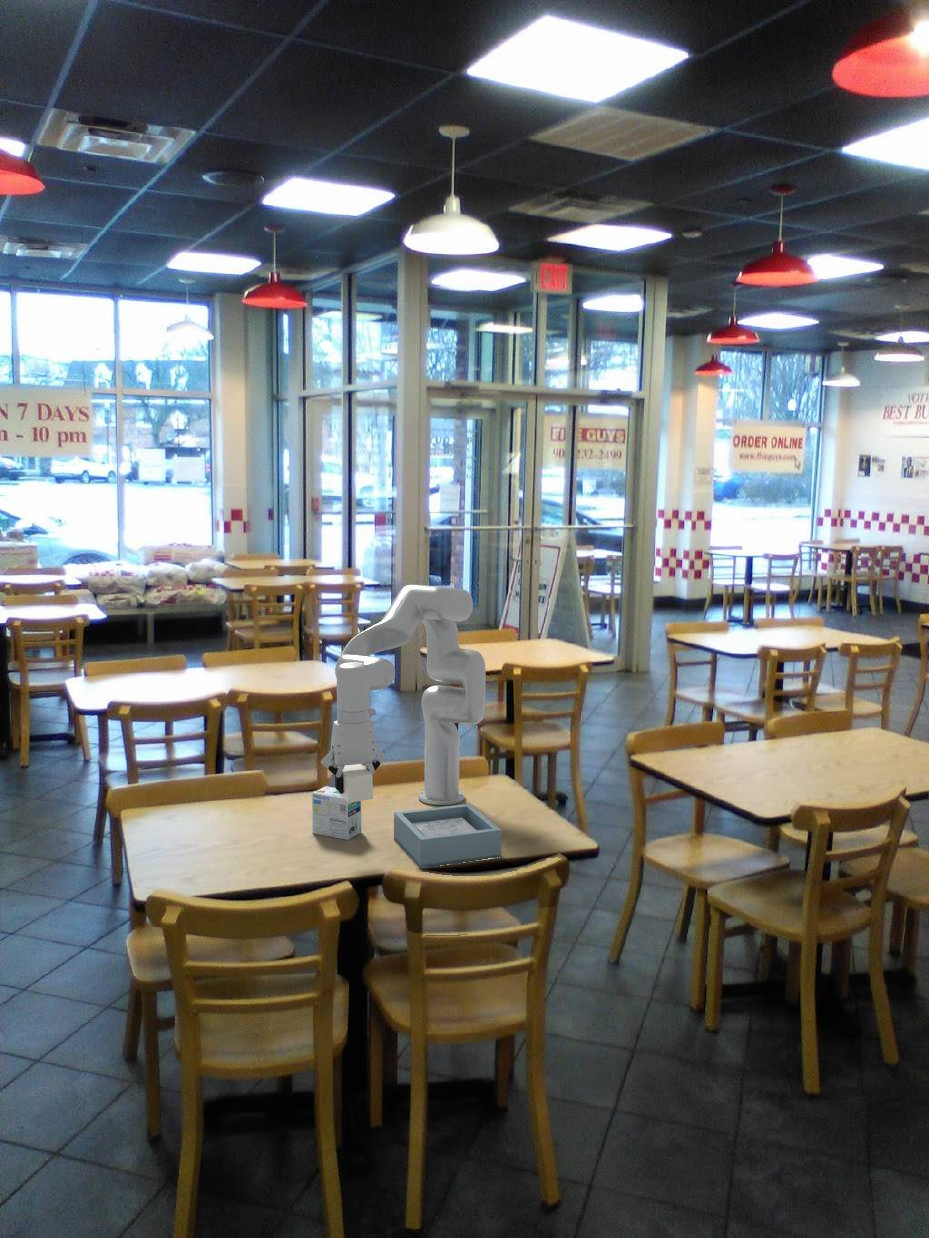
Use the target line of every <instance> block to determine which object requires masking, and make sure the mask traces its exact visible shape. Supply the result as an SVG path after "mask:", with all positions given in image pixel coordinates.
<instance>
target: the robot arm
mask: <svg viewBox="0 0 929 1238" xmlns="http://www.w3.org/2000/svg"><path fill="white" fill-rule="evenodd" d="M473 608H474V601H473V597H472V595H471V594H470V593H469V591H468V590H467V589H464V588H453V587H446V586H440V585H439V586H437V585H422V584H409V585H408V584H407V585H405V586H403V587H402V588H401V589H400V590H399V592H398V593H397V595H396V596H395V598H394V600H393V601H392V603H391V604H390V606H389V608H388V609H387V611H386V612H385V614H384V616H383V617H382V618H381V621H379V622H378V623H376V624H373V625H372V626H370V627H368V628H366V629H365V630H363V631H361V632H359V633H358V634H356V635H355V636H353V637H352V638H351V639H350V640H349V641H348V642H347V644H346V645H345V647H344V648H343V650H342V652H341V653H340V655H339V657H338V659H337V661H336V664H335V669H334V672H335V673H334V674H335V677H336V678H335V679H336V716H337V717H336V720H334V721H333V725H332V730H331V739H330V750H329V751H328V753H327V754H326V755H325V756H324V757H323V758H322V759H321V761H320V763H321V764H322V766H323V767H325V768H326V769H327V770H328V771H329V772H330V773H332V774H333V775H334V788H336V790H338V792H339V793H340V794H343V793H344V790H343V777H342V772H343V769H344V767H345V766H346V765H355V764H361V765H363V764H364V767H365V768H366V769H367V770H368V771H369V772H371V773H372V774H373V775H375V773H376V771H377V769H378V768H379V767H380V765H381V764H382V763H383V762H384V761H385V760H386V758H387V755H386V753H384V752H383V751H382V750H381V749H380V748H379V747H377V742H376V741H377V740H376V733H375V728H374V727H375V726H374V724H373V720H372V719H371V718H372V716H375V715H376V714H377V713H376V708H374V709H373V708H371V707H370V705H371V704H370V694H371V693H370V692H371V691H372V692H373V691H381V690H385V689H386V688H388V687H389V686H391V685H392V683H393V682H394V680H395V678H396V668H395V666H394V664H393V662H392V661H390V660H389V659H386V658H385V657H377V656H373V655H374V654H376V653H380V652H384V651H387V650H392V649H396V648H399V647H402V646H404V645H406V644H408V643H409V641H410V640H411V639H412V637H413V636H414V634H415V632H416V630H417V628H418V627H419V625H420V623H421V622H422V624H423V625H424V628H425V633H426V669H427V671H426V672H427V674H428V676H429V678H430V679H431V680H433V681H436V682H442V683H451V684H456V685H457V684H459V685H462V687H458V686H449V685H441V684H440V685H439V684H438V685H432V686H429V687H428V688H426V689H425V690H424V692H423V693H422V696H421V710H422V715H423V722H424V784H423V787H424V789H423V790H421V791H420V792H419V793H418V799H419V801H421V802H422V803H425V804H428V805H433V806H452V805H455V804H456V805H457V804H459V803H461V802H463V801H464V799H465V793H464V792H463V791H461V790H459V789H460V744H461V743H460V741H461V740H460V739H461V738H460V734H459V731H458V727H457V726H456V724H461V725H471V726H472V725H477V724H479V723H481V721H482V720H483V719H484V716H485V711H486V699H487V698H486V694H487V693H486V692H487V691H486V689H487V688H486V682H487V681H486V679H487V677H486V676H487V675H486V669H487V668H486V663H485V658H484V656H483V655H482V654H481V652H480V651H477V650H475V649H471V648H469V649H468V648H461V647H460V645H459V629H458V626H457V622H458V623H461V622H464V621H466V620H468V619H469V618H470V616H471V615H472V612H473ZM455 723H456V724H455ZM331 761H333V762H334V764H335V766H334V765H332V764H331V763H330V762H331Z"/></svg>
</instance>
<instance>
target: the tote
mask: <svg viewBox="0 0 929 1238" xmlns="http://www.w3.org/2000/svg"><path fill="white" fill-rule="evenodd" d="M461 817H462V818H463V819H464V820H466V821H467V822H468V823H469V824H470V825H471V826H472V827H474V828H475V829H476V830H477V831H469V832H461V833H452V834H444V835H436V836H428V837H425V836H424V835H423V834H422V833H421V832H420V831H419V830H418V829H417V828H416V827H415V826H414V825H413V824H412V823H418V822H426V821H435V820H443V819H452V818H461ZM393 840H394V841H395V843H396V844H397V845H398V846H399V847H400V848H401V850H402V851H403V852H405V854H406V855H407V856H408V857H409V858H410V859H411V860H412V861H413V862H414V863H415V865H416V866H417V867H418V869H420V870H424V869H423V868H425V869H431V867H432V868H437V867H436V866H440V865H447V864H449V865H447V866H451V865H450V864H455V865H459V864H458V863H463V862H469V861H476V860H482V859H488V858H497V857H498V858H499V857H501V858H502V829H501V828H500V827H499V826H497V825H496V824H495V823H494V822H493V821H491V820H490V819H489V818H488V817H487V816H486V815H484V814H483V813H482V812H480V811H479V810H478V809H477V808H475V807H474V806H473V805H472V804H471V803H466V804H456V805H455V804H454V805H445V806H440V807H431V808H429V807H428V808H421V809H410V810H403V811H402V810H401V811H394V812H393ZM463 864H464V863H463ZM440 867H441V866H440Z"/></svg>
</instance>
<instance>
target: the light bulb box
mask: <svg viewBox="0 0 929 1238" xmlns="http://www.w3.org/2000/svg"><path fill="white" fill-rule="evenodd" d="M311 798H312V799H311V800H312V807H311V809H312V810H311V811H312V834H313V835H314V834H316V835H320V836H325V837H330V838H335V839H340V840H347V841H349V840H350V839H352V838H354V837H356V836H358V835H359V834H361V833H362V801H356V802H349V803H348V802H347V801H346V800H345V799H344V798H343V797H342V796H341V795H340V794H339V793H338V792H337V791H336V788H335V787H331V786H328V785H325V786H323V787H321V788H320V789H317V790H316V791H315V790H314V791H313V792H312V793H311Z"/></svg>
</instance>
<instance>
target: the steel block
mask: <svg viewBox="0 0 929 1238" xmlns="http://www.w3.org/2000/svg"><path fill="white" fill-rule="evenodd" d="M412 824H413V825H414V826H415V827H416V828H417V829H418V830H419V831H420V832H421V833H422V834H423V835H424V836H425V837H428V836H436V835H444V834H452V833H461V832H469V831H477V830H476V829H475V828H474V827H472V826H471V825H470V824H469V823H468V822H467V821H466V820H464V819H463V818H462V817H461V818H452V819H443V820H435V821H426V822H418V823H412Z"/></svg>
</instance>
